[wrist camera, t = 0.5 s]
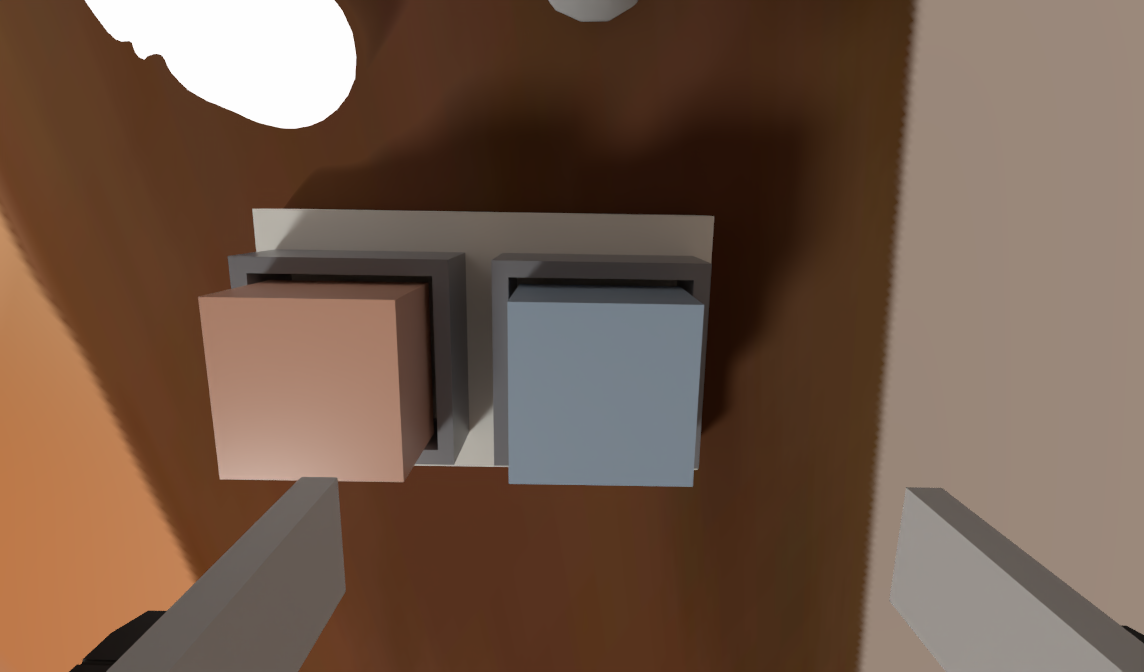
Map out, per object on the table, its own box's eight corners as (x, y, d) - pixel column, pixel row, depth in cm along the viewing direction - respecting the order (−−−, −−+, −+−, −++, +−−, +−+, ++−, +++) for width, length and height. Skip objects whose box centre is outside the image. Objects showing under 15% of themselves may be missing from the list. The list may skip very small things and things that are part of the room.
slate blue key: (519, 283, 26) (507, 301, 21) (679, 286, 26) (703, 304, 21) (520, 434, 28) (508, 483, 23) (671, 436, 28) (692, 486, 23)
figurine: (225, -40, 29) (-14, -208, 17) (370, -5, 29) (234, -147, 17) (211, 112, 30) (-17, 53, 19) (350, 144, 31) (211, 106, 19)
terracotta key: (268, 280, 26) (198, 296, 21) (428, 282, 26) (394, 300, 21) (282, 430, 28) (219, 479, 23) (433, 433, 28) (403, 482, 23)
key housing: (282, 208, 31) (200, 209, 24) (701, 215, 31) (736, 217, 24) (302, 441, 34) (234, 500, 27) (687, 447, 34) (715, 507, 27)
